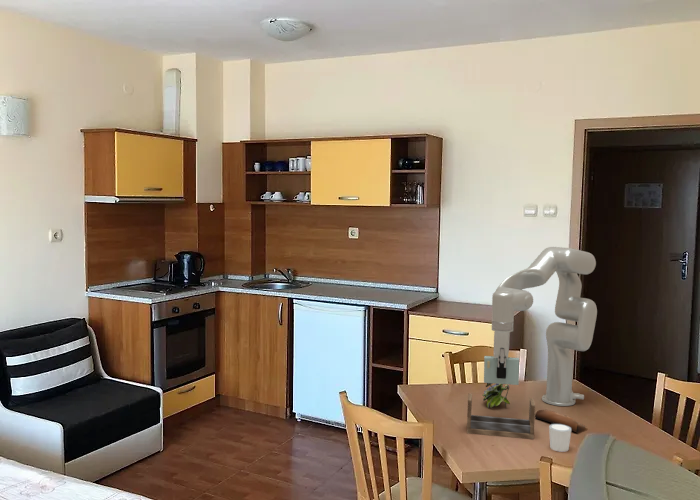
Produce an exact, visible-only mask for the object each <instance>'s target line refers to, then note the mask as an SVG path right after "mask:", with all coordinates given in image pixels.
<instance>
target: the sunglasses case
mask: <svg viewBox="0 0 700 500" xmlns="http://www.w3.org/2000/svg"><path fill="white" fill-rule="evenodd" d="M536 419H537V420H540V421H543V422H544V421H545V422H549V423H551V424H563V425H567V426H569V427H571V432H575V433H576V434H577V435H579V434H581V433H584V432H586V431H588V430H590V428H589V427H587V426H586V425H584V424H583V423H580V422H578V421H576V419H574V418H573V417H571V416H568V415H565V414H561V413H559V412H556V411H554V410H553V411H552V410H547V409H538V410H537V411H535V420H536Z"/></svg>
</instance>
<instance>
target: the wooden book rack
mask: <svg viewBox="0 0 700 500" xmlns="http://www.w3.org/2000/svg"><path fill="white" fill-rule="evenodd" d="M472 400H473V393H471V392H469V393H468V396H467V416H466V422H467V423H466V434H472V435H473V434H474V435H484V436H493V437H505V438H519V439H527V440H528V439H529V440H534V439H535V420H536V418H535V414H536V404H535V400H534V397H529V406H528V407H529V408H528V409H529V411H528V413H529V414H528V419H523V418H513V417H510V418H509V417H500V416H499V417H498V416H489V415H475V414H472V408H473V407H472V406H473V405H472V404H473V401H472Z"/></svg>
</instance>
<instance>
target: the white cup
mask: <svg viewBox="0 0 700 500" xmlns="http://www.w3.org/2000/svg"><path fill="white" fill-rule="evenodd" d="M548 432H549V447H550V450H552V451H556V452H560V453H561V452H562V453H564V452H568V451H569V450H570V442H571V436H572V430H571V427H569V426H567V425H563V424H553V423H551V424H549V426H548Z"/></svg>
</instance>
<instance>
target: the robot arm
mask: <svg viewBox="0 0 700 500" xmlns="http://www.w3.org/2000/svg"><path fill="white" fill-rule="evenodd" d="M596 266H597V261H596V258H595V256H594V255H593V254H592V253H590V252H588V251H584V250H580V249H576V248H572V247H562V246H548V247H546V248H544V249H543V250H542V251H541V252H540V254H539V255H538V256H537V257H536V258H535V259H534V260H533V262H531V264H530V265H529V266H528V267H527V268H524V269H522V270H519V271H518V272H516V273H513V274H511V275H509V276H508V277H506V278H505V279H504V280H503V281H502V282H501V283H499V285H498V287H497V288H496V289H495V291H494V292H493V293H492V298H491V299H492V300H491V301H492V302H491V331H493V333H494V334H493V356H494V359H496V358H498V367H497V378H501V379H506V360H507V359H508V357H509V352H510V350H509V349H510V340H511V339H510V337H511V336H510V335H511V332H512V333H513V332H514V319H515V318H514V316H515V311H516V312H517V311H519V312H523V311H527V310H529V309H530V308H531V307H532V306H533V304H534V297H533V295H532V293H531V292H529V291H528V290H526V289H531V288H532V289H533V288H537V287H540V286H543V285H546V283H547V282H548V281H549V280H550V278H551V277H552V276H553V275H554V274H555V273H556V275H557V278H558V290H557V295H556V300H555V304H554V313H555V316H556V317H557V318H559V319H562V320H565V321H571V322H577V324H572V323H567V322H566V323H565V322H559V321H555V322H552V323H550V324H548V325H547V328H546V331H545V338H546V339H545V340H546V345H547V366H546V367H547V368H546V369H547V370H546V390H545V394H543V395H542V396H541V400H542V401H543V402H544V403H546V404H549V405H552V406H558V407H570V406H573V405H575V404H576V400H582V401H584V399H585V395H584V394H583V393H582V394H580V392H574V391H573V389H572V388H573V365H574V357H573V354H572V351H571V350H573V351H578V352H586V351H587V350H589V349H590V347H591V345H592V342H593V338H594V333H595V327H596V323H597V322H596V321H597V315H598V309H597V305H596V302H595V301H593V300H592V299H590V298H586V297H581V293H582V286H583V285H582V281H581V279H580V277H579V275H589V274H591V273H593V272H594V270H595V268H596ZM578 274H579V275H578ZM499 357H500V358H499ZM504 357H505V359H504ZM499 361H500V362H499Z"/></svg>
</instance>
